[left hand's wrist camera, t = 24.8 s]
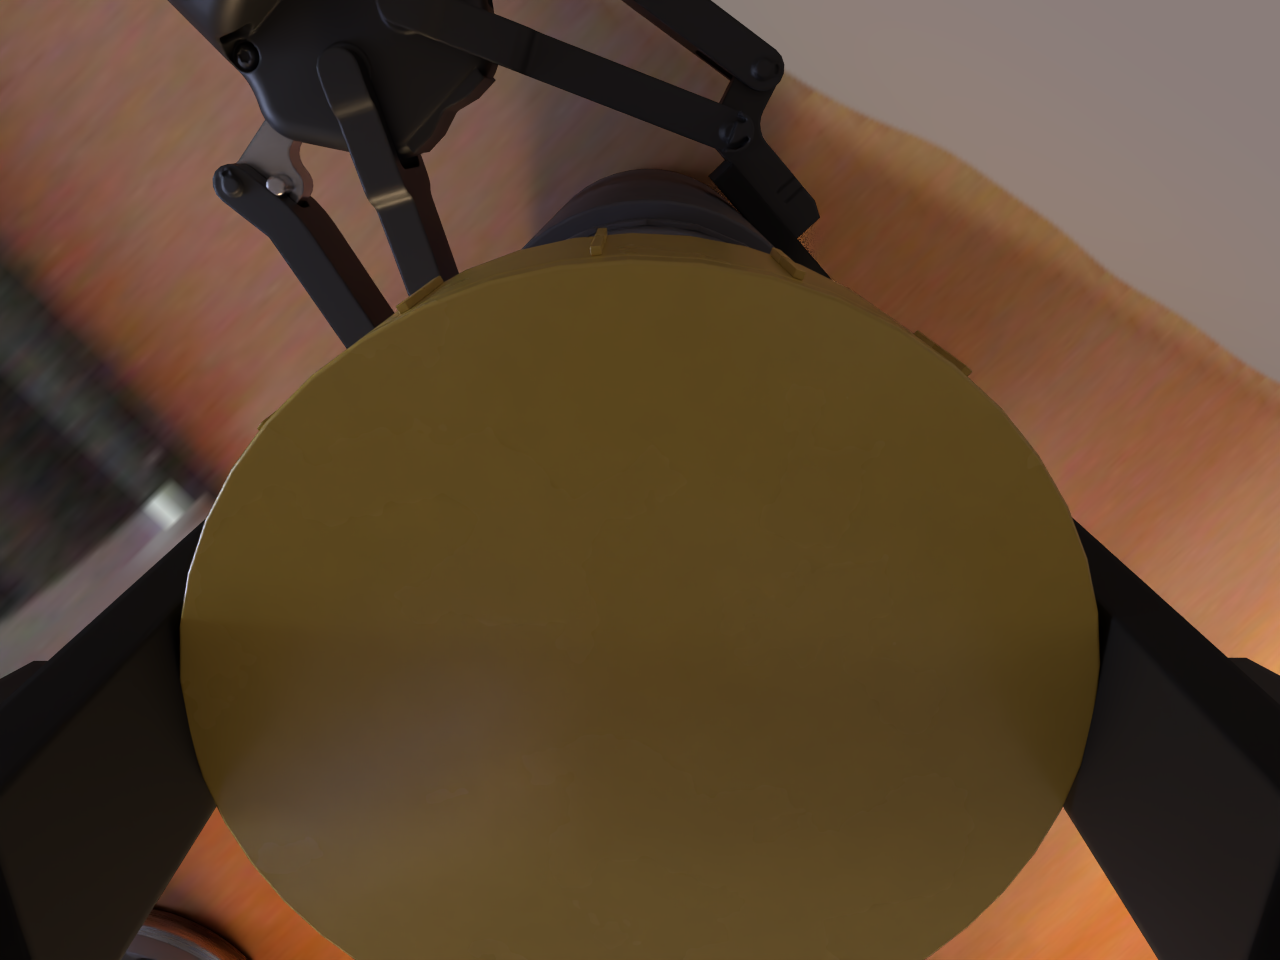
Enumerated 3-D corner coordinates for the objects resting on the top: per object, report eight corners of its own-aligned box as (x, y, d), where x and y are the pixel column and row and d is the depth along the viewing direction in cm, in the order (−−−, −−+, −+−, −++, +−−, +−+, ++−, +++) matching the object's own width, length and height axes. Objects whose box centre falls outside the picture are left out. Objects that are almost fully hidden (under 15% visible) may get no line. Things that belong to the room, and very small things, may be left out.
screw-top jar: (513, 189, 35) (404, 243, 19) (748, 150, 34) (835, 174, 19) (556, 413, 38) (494, 616, 22) (772, 381, 38) (863, 567, 22)
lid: (159, 738, 13) (61, 862, 11) (457, 59, 10) (404, 38, 8) (760, 988, 15) (782, 1137, 13) (1178, 481, 12) (1305, 563, 10)
